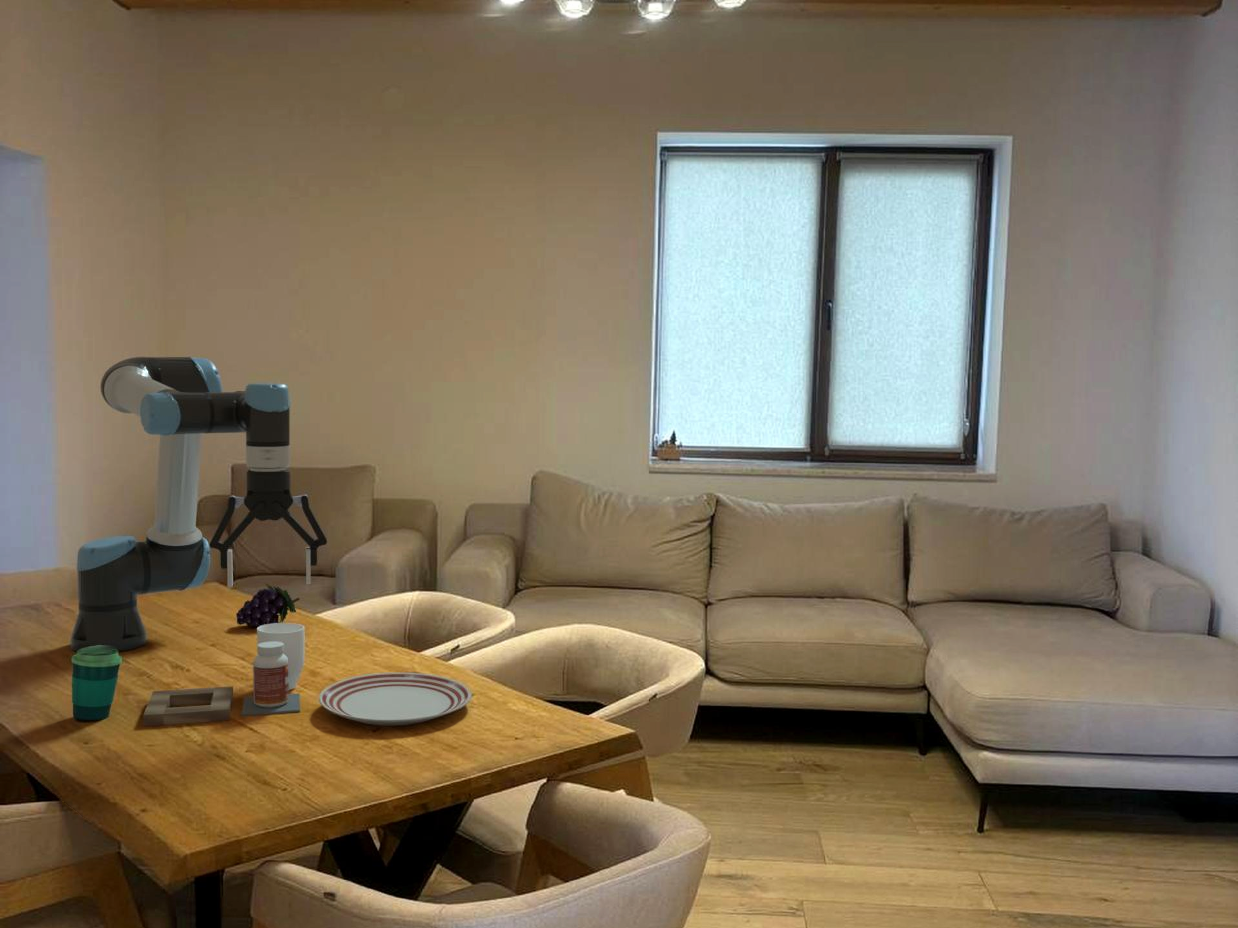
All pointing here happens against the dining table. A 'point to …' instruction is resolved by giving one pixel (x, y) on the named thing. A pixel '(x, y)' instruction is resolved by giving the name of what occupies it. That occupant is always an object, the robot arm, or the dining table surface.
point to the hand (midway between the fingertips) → (269, 584)
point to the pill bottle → (270, 675)
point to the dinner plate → (394, 698)
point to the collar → (164, 715)
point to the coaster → (289, 707)
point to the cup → (94, 682)
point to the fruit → (266, 607)
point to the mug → (287, 645)
